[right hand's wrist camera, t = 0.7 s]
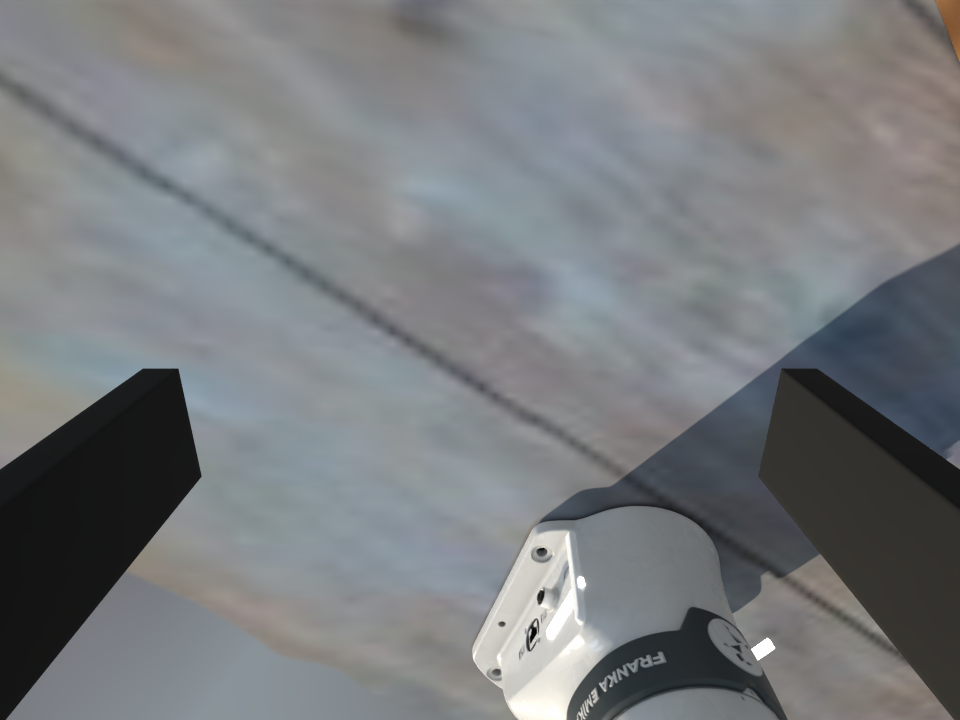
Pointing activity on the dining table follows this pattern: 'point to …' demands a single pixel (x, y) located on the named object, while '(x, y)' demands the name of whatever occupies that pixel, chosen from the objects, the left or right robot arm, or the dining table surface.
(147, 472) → the right robot arm
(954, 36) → the box
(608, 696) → the left robot arm
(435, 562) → the dining table surface
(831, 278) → the dining table surface
